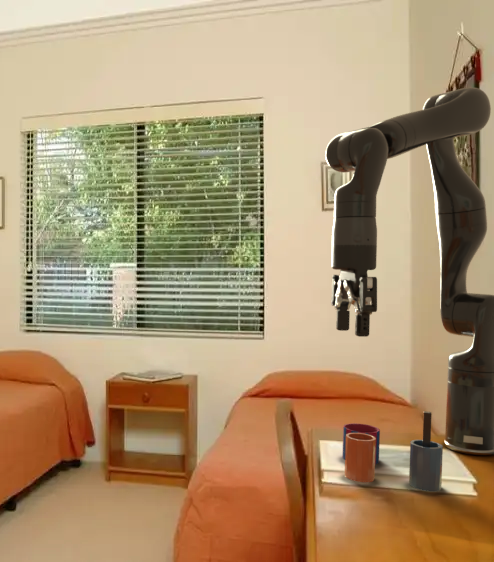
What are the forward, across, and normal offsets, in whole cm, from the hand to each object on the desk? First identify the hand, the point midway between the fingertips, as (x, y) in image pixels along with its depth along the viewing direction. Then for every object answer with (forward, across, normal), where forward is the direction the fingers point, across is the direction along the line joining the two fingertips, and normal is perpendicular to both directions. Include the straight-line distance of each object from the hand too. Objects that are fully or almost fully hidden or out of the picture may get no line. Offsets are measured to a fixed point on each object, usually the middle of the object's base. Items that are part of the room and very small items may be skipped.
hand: (351, 333), depth 108 cm
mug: (+27, +8, -5) cm, 29 cm away
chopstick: (+26, -5, -12) cm, 29 cm away
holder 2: (+27, -5, -12) cm, 30 cm away
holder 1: (+27, -1, -2) cm, 27 cm away
